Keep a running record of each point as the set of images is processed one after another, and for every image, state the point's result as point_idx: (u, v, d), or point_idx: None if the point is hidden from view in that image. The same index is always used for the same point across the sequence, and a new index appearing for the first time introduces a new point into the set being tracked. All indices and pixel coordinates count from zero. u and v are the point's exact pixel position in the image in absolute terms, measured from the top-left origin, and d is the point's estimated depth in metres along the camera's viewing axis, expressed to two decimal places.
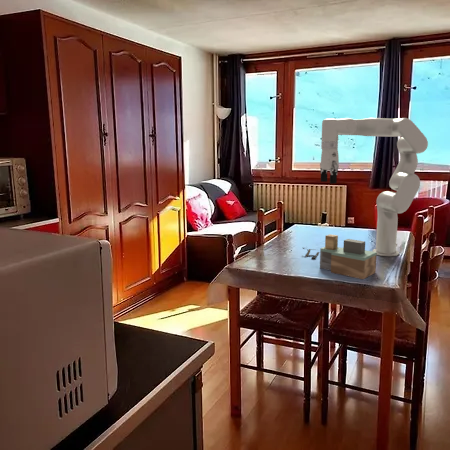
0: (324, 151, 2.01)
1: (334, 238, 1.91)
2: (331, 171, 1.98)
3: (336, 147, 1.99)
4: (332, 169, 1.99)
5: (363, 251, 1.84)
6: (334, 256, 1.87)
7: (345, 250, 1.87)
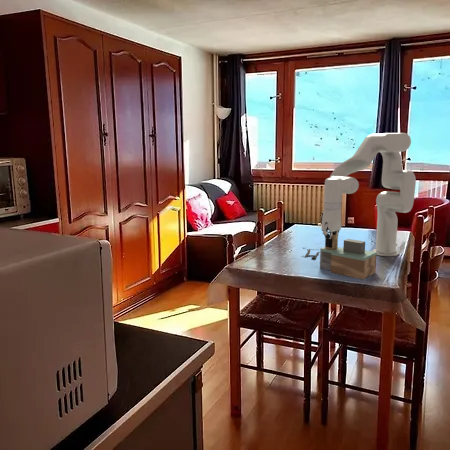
0: (337, 212, 1.89)
1: (334, 238, 1.91)
2: None
3: None
4: (336, 230, 1.94)
5: (363, 251, 1.84)
6: (334, 256, 1.87)
7: (345, 250, 1.87)
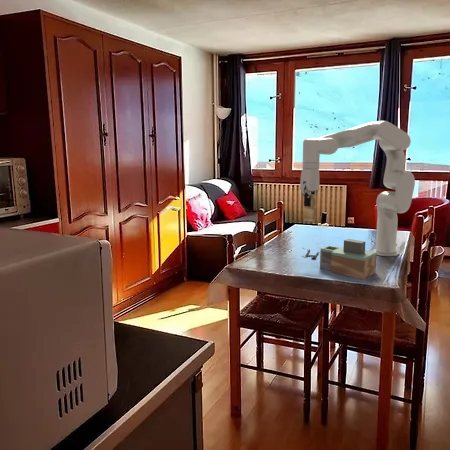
0: (315, 171, 1.96)
1: (312, 197, 1.98)
2: (316, 193, 2.01)
3: None
4: None
5: (363, 251, 1.84)
6: (334, 256, 1.87)
7: (345, 250, 1.87)
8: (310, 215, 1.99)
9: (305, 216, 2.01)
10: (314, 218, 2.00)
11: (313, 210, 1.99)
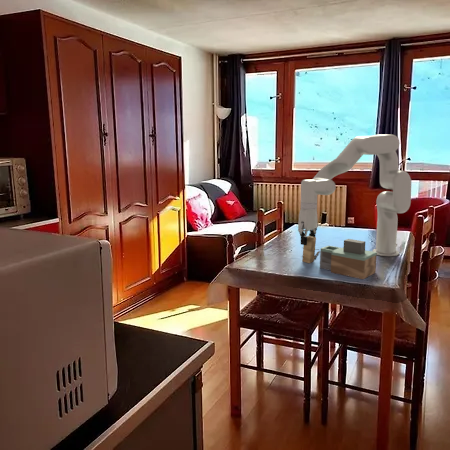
0: (313, 211, 2.00)
1: (312, 240, 2.01)
2: (315, 230, 2.06)
3: None
4: None
5: (363, 251, 1.84)
6: (334, 256, 1.87)
7: (345, 250, 1.87)
8: (308, 257, 2.03)
9: (303, 257, 2.05)
10: (312, 260, 2.05)
11: (312, 252, 2.04)
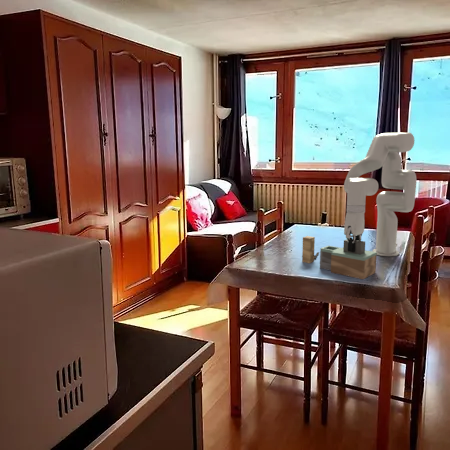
0: (361, 215, 1.82)
1: (311, 240, 2.02)
2: None
3: None
4: (359, 234, 1.87)
5: (363, 251, 1.84)
6: (334, 256, 1.87)
7: (345, 250, 1.87)
8: (308, 257, 2.03)
9: (303, 257, 2.05)
10: (312, 260, 2.05)
11: (312, 252, 2.04)
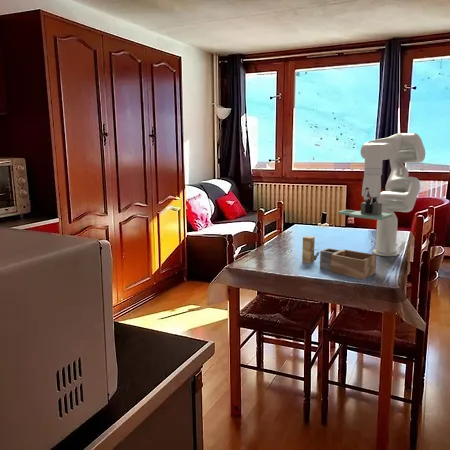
0: (378, 177, 1.91)
1: (311, 240, 2.02)
2: (377, 199, 1.96)
3: None
4: (375, 197, 1.96)
5: (380, 212, 1.93)
6: (334, 256, 1.87)
7: (362, 212, 1.96)
8: (308, 257, 2.03)
9: (303, 257, 2.05)
10: (312, 260, 2.05)
11: (312, 252, 2.04)
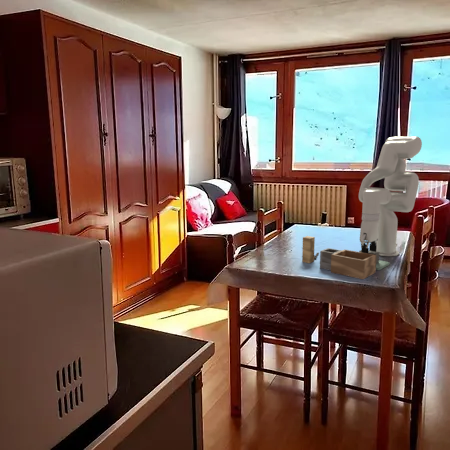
0: (375, 223, 1.95)
1: (311, 240, 2.02)
2: (376, 241, 2.01)
3: None
4: None
5: (377, 261, 1.98)
6: (334, 256, 1.87)
7: None
8: (308, 257, 2.03)
9: (303, 257, 2.05)
10: (312, 260, 2.05)
11: (312, 252, 2.04)
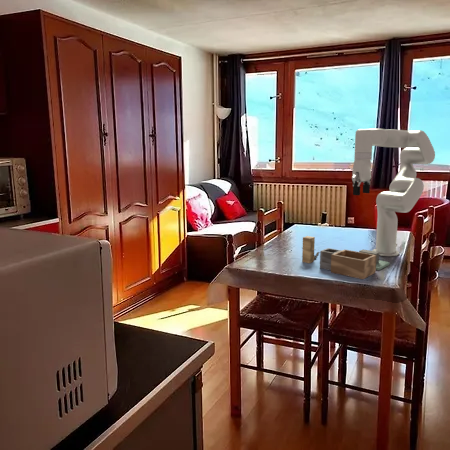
0: (368, 162, 1.95)
1: (311, 240, 2.02)
2: (369, 181, 2.01)
3: None
4: None
5: (377, 261, 1.98)
6: (334, 256, 1.87)
7: None
8: (308, 257, 2.03)
9: (303, 257, 2.05)
10: (312, 260, 2.05)
11: (312, 252, 2.04)
